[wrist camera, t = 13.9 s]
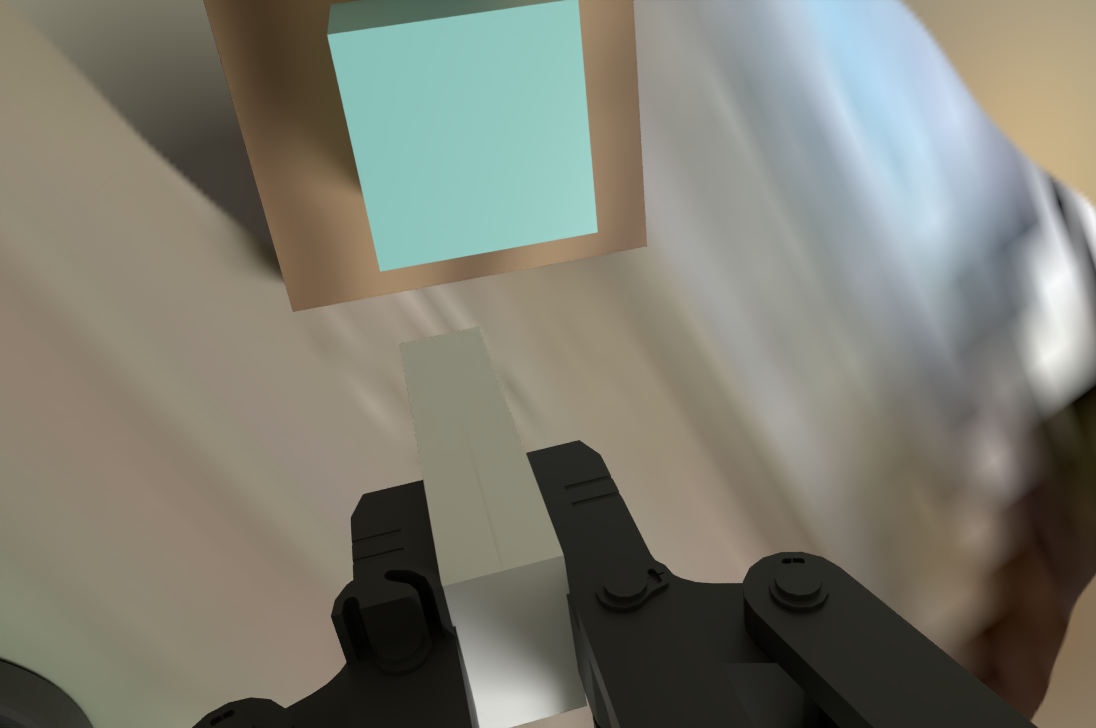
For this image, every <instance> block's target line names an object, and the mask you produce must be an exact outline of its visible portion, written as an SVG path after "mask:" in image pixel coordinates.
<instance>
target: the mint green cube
mask: <svg viewBox="0 0 1096 728" xmlns="http://www.w3.org/2000/svg"><path fill="white" fill-rule="evenodd" d="M327 36H328V41H329V45H330V50H331V54H332V59H333V63H334V68H335V72H336V77H337V81H338V85H339V90H340V94H341V99H342V103H343V108H344V112H345V117H346V121H347V126H348V130H349V135H350V139H351V144H352V148H353V153H354V157H355V162H356V166H357V170H358V175H359V179H360V184H361V188H362V193H363V197H364V202H365V206H366V211H367V215H368V220H369V224H370V229H371V233H372V238H373V242H374V247H375V251H376V255H377V260H378V264H379V269H380V272H381V271H387V270H392V269H398V268H404V267H409V266H415V265H420V264H426V263H431V262H437V261H442V260H448V259H453V258H459V257H464V256H470V255H475V254H481V253H487V252H492V251H498V250H503V249H509V248H514V247H520V246H525V245H531V244H536V243H542V242H547V241H553V240H559V239H564V238H570V237H575V236H581V235H586V234H592V233H597V232H598V229H597V217H596V205H595V193H594V182H593V170H592V158H591V146H590V134H589V122H588V110H587V98H586V86H585V74H584V62H583V51H582V39H581V27H580V15H579V3H578V0H358V1H351V2H344V3H337V4H331V6H330V15H329V23H328V32H327Z"/></svg>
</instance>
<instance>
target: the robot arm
mask: <svg viewBox="0 0 1096 728" xmlns="http://www.w3.org/2000/svg"><path fill="white" fill-rule="evenodd" d="M400 350H401V356H402V362H403V367H404V373H405V379H406V384H407V390H408V396H409V402H410V407H411V413H412V419H413V424H414V430H415V436H416V442H417V447H418V453H419V459H420V464H421V470H422V476H423V480H421V481H416V482H412V483H408V484H404V485H400V486H396V487H391V488H387V489H383V490H379V491H375V492H371V493H366V494H363V495H362V497H361V499H360V501H359V503H358V505H357V507H356V509H355V511H354V513H353V514H352V516H351V534H352V544H353V545H352V556H353V564H354V565H353V578H354V580H353V581H351V582H350V583H348V584H347V585H346V586H345V588H344V589H343V590H342V592H341V593H340V594H339V596H338V597H337V598H336V599H335V602H334V606H333V610H332V614H331V618H332V621H333V624H334V627H335V630H336V633H337V636H338V638H339V641H340V644H341V647H342V650H343V653H344V656H345V659H346V661H347V663H346V664H345V665H344V667H343V668H342V670H341V671H340V672H339V673H338V674H337V675H336V676H335V677H334V678H333V679H332V680H331V681H330V682H329V683H328V684H326V685H325V686H323V687H322V688H320V689H319V690H317V691H316V692H314V693H313V694H311V695H309V696H307V697H306V698H304V699H302V700H300V701H298V702H296V703H295V704H293V705H291V706H289V707H287V708H286V709H285V708H284V707H282V706H280V705H279V704H277V703H275V702H274V701H272V700H271V699H262V698H252V697H250V698H246V699H242V700H238V701H234V702H229V703H227V704H225V705H223V706H222V707H220V708H218V709H216V710H214V711H212V712H210V713H208V714H207V715H206V716H204V717H203V718H202V719H201V720H200V721H199V722H198V723H197V724H196V725H195V726H193V727H192V728H510V727H514V726H517V725H521V724H524V723H528V722H531V721H535V720H538V719H542V718H545V717H549V716H552V715H556V714H559V713H563V712H566V711H570V710H573V709H577V708H581V707H584V706H587V702H586V696H587V699H588V702H589V705H590V708H591V711H592V714H593V721H594V728H1038V727H1036V726H1035V725H1034V724H1033V723H1031V722H1030V721H1029V720H1028V719H1027V718H1025V717H1024V716H1023V715H1022V714H1020V713H1019V712H1018V711H1017V710H1015V709H1014V708H1013V707H1012V706H1010V705H1009V704H1008V703H1007V702H1006V701H1004V700H1003V699H1002V698H1001V697H999V696H998V695H997V694H996V693H994V692H993V691H992V690H991V689H990V688H988V687H987V686H986V685H985V684H983V683H982V682H981V681H980V680H978V679H977V678H976V677H975V676H973V675H972V674H971V673H970V672H969V671H967V670H966V669H965V668H964V667H962V666H961V665H960V664H959V663H957V662H956V661H955V660H954V659H953V658H951V657H950V656H949V655H948V654H946V653H945V652H944V651H943V650H941V649H940V648H939V647H938V646H937V645H935V644H934V643H933V642H932V641H930V640H929V639H928V638H927V637H925V636H924V635H923V634H922V633H920V632H919V631H918V630H917V629H916V628H914V627H913V626H912V625H911V624H909V623H908V622H907V621H906V620H904V619H903V618H902V617H901V616H900V615H898V614H897V613H896V612H895V611H893V610H892V609H891V608H890V607H888V606H887V605H886V604H885V603H884V602H882V601H881V600H880V599H879V598H877V597H876V596H875V595H874V594H872V593H871V592H870V591H869V590H867V589H866V588H865V587H864V586H863V585H861V584H860V583H859V582H858V581H856V580H855V579H854V578H853V577H851V576H850V575H849V574H848V573H847V572H845V571H844V570H843V569H842V568H840V567H839V566H837V565H835V564H834V563H832V562H830V561H828V560H827V559H825V558H823V557H820V556H816V555H812V554H808V553H804V552H780V553H777V554H774V555H770V556H767V557H764V558H762V559H761V560H759V561H758V562H757V563H755V564H754V565H753V566H751V567H750V568H749V570H748V572H747V574H746V576H745V578H744V580H743V583H701V582H694V581H690V580H686V579H682V578H680V577H678V576H675V575H673V574H672V572H671V571H670V570H669V569H668V568H667V567H666V566H665V565H664V564H662V563H660V562H658V561H656V560H655V559H654V558H653V557H652V555H651V554H650V552H649V550H648V548H647V546H646V544H645V542H644V540H643V538H642V536H641V534H640V532H639V530H638V528H637V526H636V524H635V522H634V520H633V518H632V516H631V514H630V512H629V510H628V508H627V506H626V504H625V502H624V500H623V498H622V496H621V495H620V494H619V490H618V488H617V486H616V485H615V483H614V481H613V479H611V475H610V473H609V471H608V469H607V467H606V465H605V463H604V461H603V459H602V457H601V455H600V454H599V453H597V452H596V451H594V450H593V449H591V448H590V447H588V446H587V445H585V444H584V443H583V442H581V441H580V440H578V441H574V442H570V443H566V444H561V445H557V446H553V447H549V448H545V449H541V450H536V451H532V452H528V453H526V452H525V449H524V447H523V444H522V441H521V439H520V436H519V433H518V431H517V428H516V425H515V423H514V420H513V417H512V414H511V412H510V409H509V406H508V404H507V401H506V398H505V396H504V393H503V390H502V388H501V385H500V382H499V379H498V377H497V374H496V371H495V369H494V366H493V363H492V361H491V358H490V355H489V353H488V350H487V347H486V344H485V342H484V339H483V336H482V334H481V331H480V328H479V327H475V328H471V329H466V330H462V331H457V332H452V333H448V334H443V335H438V336H434V337H429V338H425V339H420V340H415V341H411V342H406V343H402V344H400ZM585 693H586V696H585ZM0 728H93V726H92V724H91V723H90V721H89V720H88V718H87V716H86V715H85V714H84V713H83V711H82V710H81V709H80V708H79V707H78V706H77V705H76V704H75V702H73V701H72V700H71V699H70V698H69V697H68V696H67V695H66V694H64V693H63V692H62V691H60V690H59V689H58V688H56V687H55V686H53V685H52V684H50V683H49V682H47V681H45V680H43V679H42V678H40V677H38V676H36V675H34V674H32V673H30V672H28V671H25V670H23V669H21V668H18V667H16V666H13V665H10V664H7V663H4V662H1V661H0Z"/></svg>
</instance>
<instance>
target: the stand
mask: <svg viewBox="0 0 1096 728" xmlns="http://www.w3.org/2000/svg"><path fill="white" fill-rule="evenodd" d="M351 1H358V0H204V4H205V7H206V11H207V14H208V17H209V21H210V24H211V28H212V32H213V35H214V39H215V42H216V46H217V49H218V53H219V56H220V60H221V63H222V67H223V70H224V73H225V77H226V81H227V84H228V87H229V91H230V94H231V98H232V101H233V104H234V108H235V112H236V115H237V119H238V122H239V126H240V129H241V133H242V136H243V140H244V143H245V147H246V150H247V153H248V157H249V160H250V164H251V168H252V171H253V174H254V178H255V181H256V185H257V188H258V192H259V195H260V199H261V202H262V206H263V209H264V213H265V216H266V220H267V223H268V227H269V230H270V234H271V237H272V241H273V244H274V248H275V251H276V255H277V258H278V261H279V265H280V268H281V272H282V275H283V279H284V282H285V286H286V289H287V293H288V296H289V300H290V303H291V307H292V310H293V312H295V311H300V310H305V309H311V308H316V307H322V306H327V305H332V304H338V303H343V302H349V301H354V300H359V299H365V298H370V297H376V296H381V295H386V294H392V293H397V292H403V291H408V290H413V289H419V288H424V287H429V286H435V285H440V284H446V283H451V282H456V281H462V280H467V279H473V278H478V277H483V276H489V275H494V274H500V273H505V272H510V271H516V270H521V269H527V268H532V267H537V266H543V265H548V264H554V263H559V262H564V261H570V260H575V259H581V258H586V257H591V256H597V255H602V254H607V253H613V252H618V251H624V250H629V249H634V248H640V247H645V246H647V239H646V221H645V203H644V185H643V167H642V149H641V131H640V113H639V95H638V77H637V59H636V41H635V23H634V5H633V0H578V3H579V15H580V27H581V39H582V51H583V62H584V74H585V86H586V98H587V110H588V122H589V134H590V146H591V158H592V170H593V182H594V193H595V205H596V217H597V229H598V232H597V233H592V234H586V235H581V236H575V237H570V238H564V239H559V240H553V241H547V242H542V243H536V244H531V245H525V246H520V247H514V248H509V249H503V250H498V251H492V252H487V253H481V254H475V255H470V256H464V257H459V258H453V259H448V260H442V261H437V262H431V263H426V264H420V265H415V266H409V267H404V268H398V269H392V270H387V271H381V272H380V269H379V264H378V260H377V255H376V251H375V247H374V242H373V238H372V233H371V229H370V224H369V220H368V215H367V211H366V206H365V202H364V197H363V193H362V188H361V184H360V179H359V175H358V170H357V166H356V162H355V157H354V153H353V148H352V144H351V139H350V135H349V130H348V126H347V121H346V117H345V112H344V108H343V103H342V99H341V94H340V90H339V85H338V81H337V77H336V72H335V68H334V63H333V59H332V54H331V50H330V45H329V41H328V36H327V32H328V23H329V15H330V6H331V4H337V3H344V2H351Z"/></svg>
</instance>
